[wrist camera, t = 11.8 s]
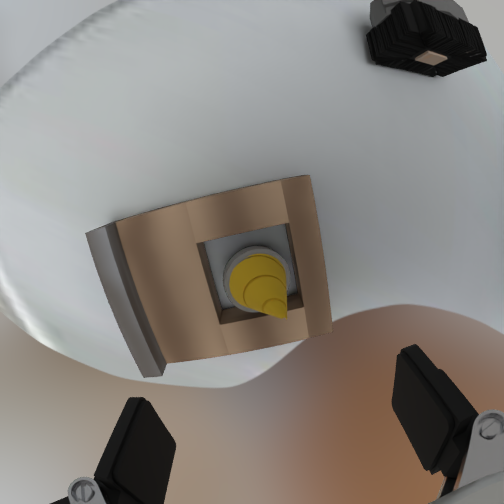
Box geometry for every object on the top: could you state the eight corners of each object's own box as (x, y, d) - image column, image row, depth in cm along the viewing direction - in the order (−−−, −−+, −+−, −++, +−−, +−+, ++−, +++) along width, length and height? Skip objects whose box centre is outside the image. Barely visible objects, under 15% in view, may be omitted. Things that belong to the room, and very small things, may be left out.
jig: (301, 175, 24) (316, 175, 19) (324, 317, 27) (339, 343, 22) (111, 222, 24) (85, 233, 19) (156, 348, 28) (143, 377, 23)
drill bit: (217, 239, 24) (241, 279, 15) (277, 237, 25) (331, 273, 16) (218, 296, 26) (241, 361, 16) (274, 292, 27) (320, 348, 18)
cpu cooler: (429, 40, 19) (482, 11, 10) (440, 82, 21) (501, 62, 11) (351, 21, 19) (392, -30, 10) (361, 66, 21) (414, 23, 11)
